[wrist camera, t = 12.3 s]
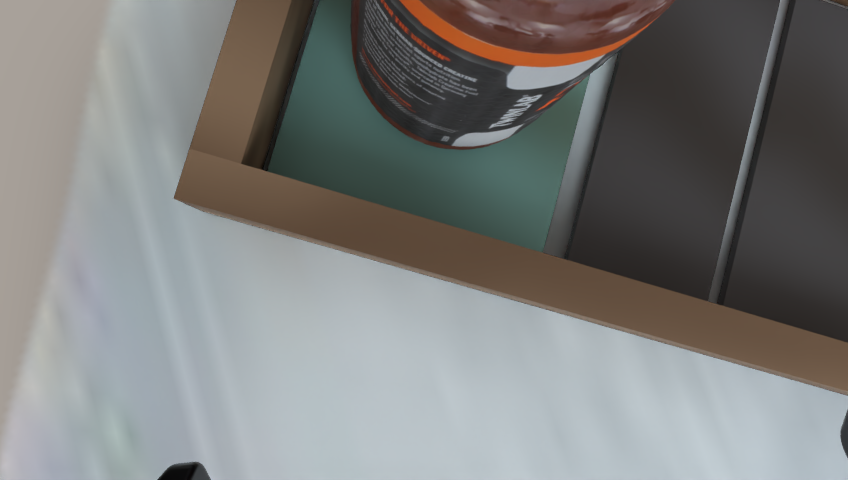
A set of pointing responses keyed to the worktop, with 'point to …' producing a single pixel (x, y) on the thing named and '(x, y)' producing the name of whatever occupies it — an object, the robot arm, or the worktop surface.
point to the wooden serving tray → (543, 171)
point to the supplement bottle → (483, 60)
